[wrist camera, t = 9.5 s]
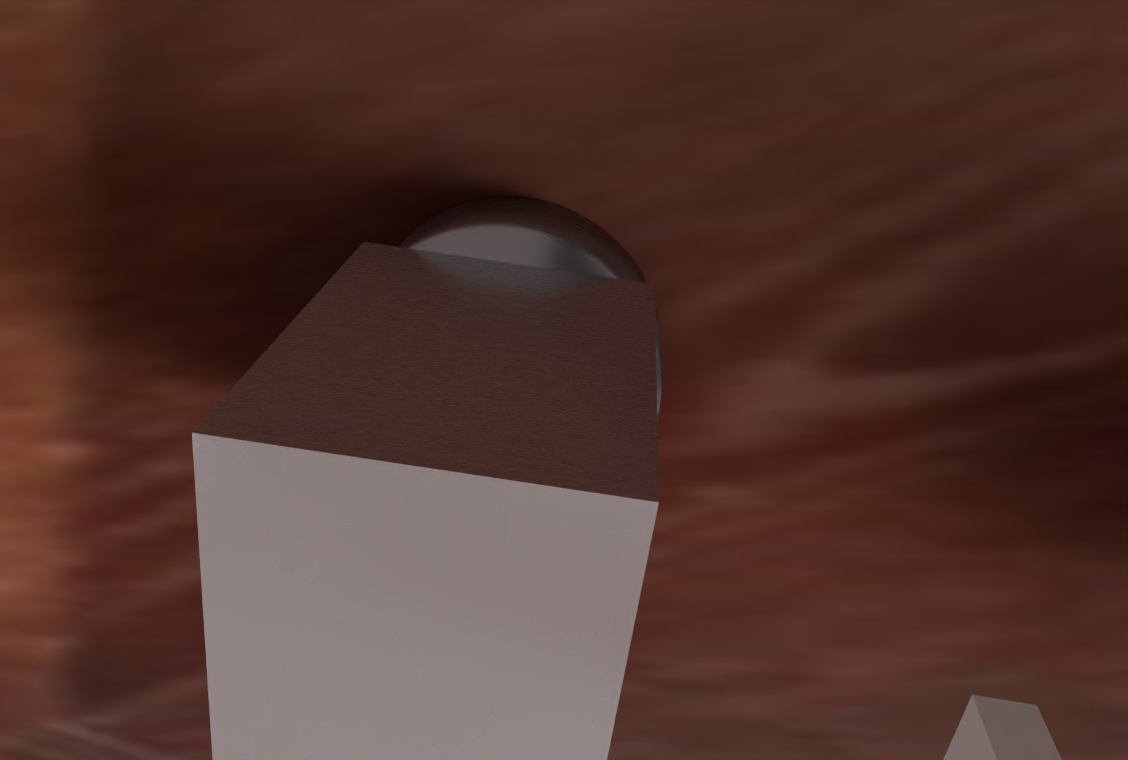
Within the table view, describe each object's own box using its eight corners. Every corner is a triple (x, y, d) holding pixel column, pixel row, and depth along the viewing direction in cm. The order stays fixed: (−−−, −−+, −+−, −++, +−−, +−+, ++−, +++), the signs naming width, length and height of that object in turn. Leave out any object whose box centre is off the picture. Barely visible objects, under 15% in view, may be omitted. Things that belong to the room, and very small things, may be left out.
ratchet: (375, 176, 21) (281, 263, 16) (683, 220, 21) (696, 322, 15) (356, 769, 29) (291, 958, 24) (576, 803, 29) (560, 1001, 24)
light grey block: (363, 241, 19) (192, 432, 12) (655, 283, 19) (658, 502, 12) (356, 487, 22) (213, 764, 15) (611, 525, 22) (593, 823, 14)
